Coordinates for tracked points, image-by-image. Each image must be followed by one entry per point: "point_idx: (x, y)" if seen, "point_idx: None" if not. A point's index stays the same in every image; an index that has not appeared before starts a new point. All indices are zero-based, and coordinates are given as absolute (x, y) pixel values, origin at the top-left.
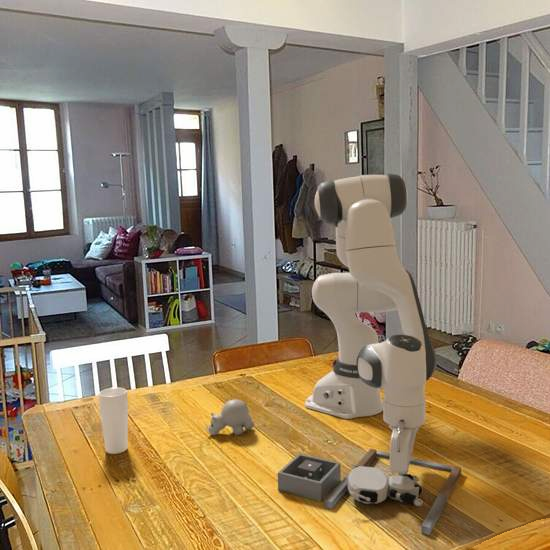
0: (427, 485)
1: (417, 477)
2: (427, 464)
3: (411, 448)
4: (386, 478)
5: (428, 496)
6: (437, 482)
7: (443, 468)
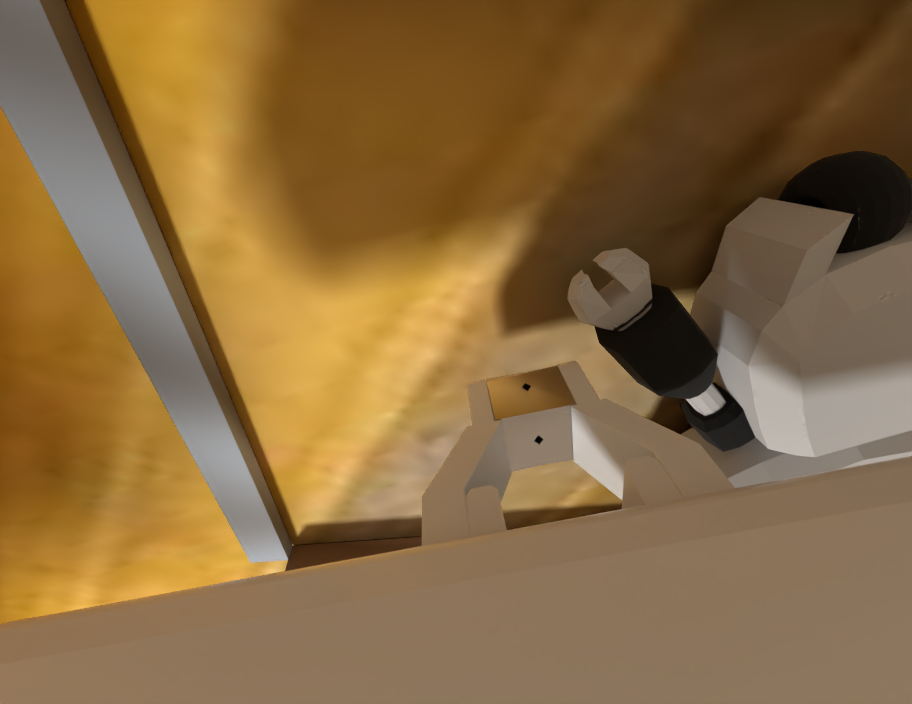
0: (510, 172)
1: (585, 276)
2: (167, 283)
3: (901, 674)
4: (838, 467)
5: (711, 100)
6: (410, 91)
7: (92, 105)
